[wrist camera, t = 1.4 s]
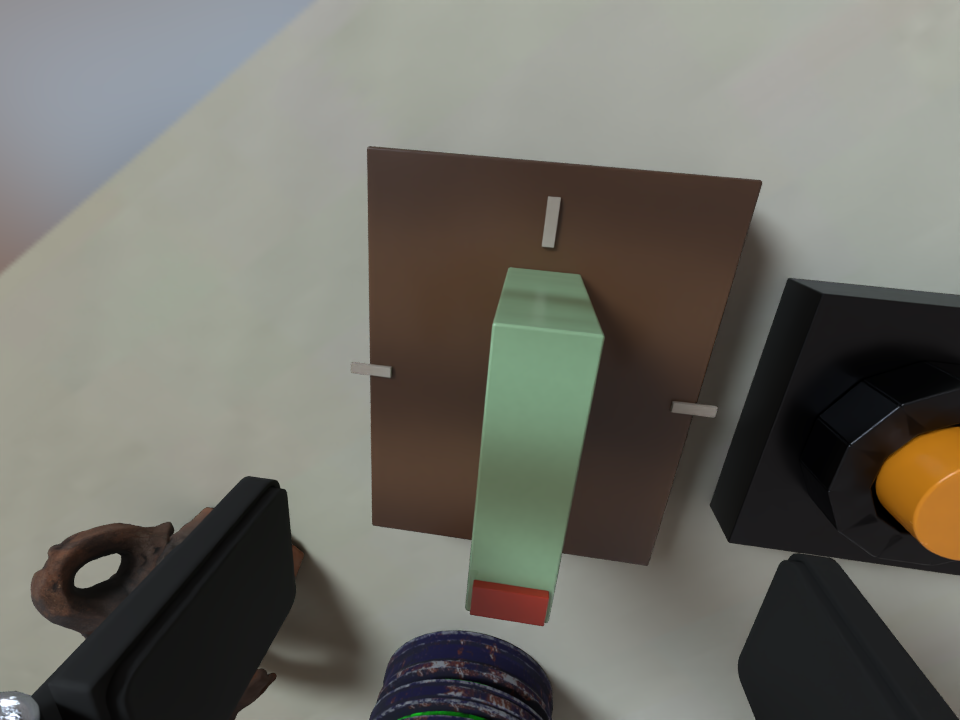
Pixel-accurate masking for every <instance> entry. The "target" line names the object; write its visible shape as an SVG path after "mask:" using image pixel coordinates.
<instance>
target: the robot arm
mask: <svg viewBox="0 0 960 720" xmlns="http://www.w3.org/2000/svg"><path fill="white" fill-rule="evenodd" d="M295 594H296V583H295V572H294V561H293V551H292V540H291V529H290V518H289V508H288V497H287V492H286V490H285V489H281V488H280V485H279V483H278V481H276V480H272V479H265V478H258V477H251V476H247V477H244V478H243V479H242V480H241V481H240V482H239V483H238V484H237V485H236V486H235V487H234V488H233V489H232V490H231V491H230V492H229V493H228V494H227V495H226V496H225V497H224V498H223V499H222V500H221V501H220V503H219V504H218V505H217V506H216V507H215V508H214V509H213V510H212V511H211V512H210V513H209V514H208V515H207V516H206V517H205V518H204V519H203V520H202V521H201V522H200V523H199V524H198V526H197V527H196V528H195V529H194V530H193V531H192V532H191V533H190V534H189V535H188V536H187V537H186V538H185V539H184V540H183V541H182V542H181V543H180V544H179V545H177V546H176V547H175V548H174V549H173V550H171V551H170V552H169V553H168V555H167V556H166V557H165V558H164V559H163V560H162V561H161V562H160V563H159V564H158V565H157V566H156V567H155V568H154V569H153V570H152V571H151V572H150V573H149V574H148V575H147V576H146V577H145V578H144V579H143V580H142V582H141V583H140V584H139V585H138V586H137V587H136V588H135V589H134V590H133V591H132V592H131V593H130V594H129V595H128V596H127V597H126V598H125V599H124V600H123V601H122V602H121V603H120V604H119V605H118V606H117V608H116V609H115V610H114V611H113V612H112V613H111V614H110V615H109V616H108V617H107V618H106V619H105V620H104V621H103V622H102V623H101V624H100V625H99V626H98V627H97V628H96V629H95V630H94V631H93V632H92V633H91V635H90V636H89V637H88V638H87V639H86V640H85V641H84V642H83V643H82V644H81V645H80V646H79V647H78V648H77V649H76V650H75V651H74V652H73V653H72V654H71V655H70V656H69V657H68V658H67V659H66V661H65V662H64V663H63V664H62V665H61V666H60V667H59V668H58V669H57V670H56V671H55V672H54V673H53V674H52V675H51V676H50V677H49V678H48V679H47V680H46V681H45V682H44V683H43V684H42V685H41V686H40V688H39V689H38V690H37V691H36V692H35V693H34V694H33V695H32V696H30V695H27V694H24V693H21V692H17V691H10V692H0V720H229V719H230V717H231V715H232V713H233V711H234V710H235V708H236V706H237V704H238V702H239V701H240V699H241V697H242V695H243V694H244V692H245V690H246V688H247V686H248V685H249V683H250V681H251V679H252V677H253V676H254V674H255V672H256V670H257V668H258V667H259V665H260V663H261V661H262V660H263V658H264V656H265V654H266V652H267V651H268V649H269V647H270V645H271V643H272V642H273V640H274V638H275V636H276V635H277V633H278V631H279V629H280V627H281V626H282V624H283V622H284V620H285V618H286V617H287V615H288V613H289V611H290V609H291V607H292V605H293V602H294V599H295ZM738 674H739V678H740V681H741V684H742V687H743V689H744V692H745V694H746V697H747V699H748V702H749V704H750V707H751V709H752V712H753V714H754V716H755V719H756V720H959V719H958V718H957V716H956V715H955V714H954V712H953V711H952V710H951V708H950V707H949V706H948V705H947V703H946V702H945V701H944V699H943V698H942V697H941V696H940V694H939V693H938V692H937V690H936V689H935V688H934V687H933V685H932V684H931V683H930V681H929V680H928V679H927V678H926V676H925V675H924V674H923V672H922V671H921V670H920V668H919V667H918V666H917V665H916V663H915V662H914V661H913V659H912V658H911V657H910V656H909V654H908V653H907V652H906V650H905V649H904V648H903V647H902V645H901V644H900V643H899V641H898V640H897V639H896V637H895V636H894V635H893V634H892V632H891V631H890V630H889V628H888V627H887V626H886V625H885V623H884V622H883V621H882V619H881V618H880V617H879V616H878V614H877V613H876V612H875V610H874V609H873V608H872V606H871V605H870V604H869V603H868V601H867V600H866V599H865V597H864V596H863V595H862V594H861V592H860V591H859V590H858V588H857V587H856V586H855V585H854V583H853V582H852V581H851V579H850V578H849V577H848V575H847V574H846V573H845V572H844V570H843V569H842V568H841V566H840V565H839V564H838V563H837V562H836V561H835V560H833V559H831V558H827V557H820V556H813V555H806V554H799V553H797V554H793V555H791V556H790V558H789V559H788V560H783V561H782V562H781V563H780V564H779V566H778V568H777V571H776V573H775V575H774V578H773V580H772V582H771V585H770V587H769V589H768V592H767V594H766V596H765V599H764V601H763V603H762V606H761V608H760V610H759V613H758V615H757V617H756V619H755V622H754V624H753V626H752V629H751V631H750V633H749V636H748V638H747V640H746V643H745V645H744V647H743V650H742V652H741V654H740V657H739V660H738Z"/></svg>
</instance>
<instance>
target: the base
mask: <svg viewBox="0 0 960 720" xmlns="http://www.w3.org/2000/svg"><path fill="white" fill-rule="evenodd" d="M367 173H368V246H369V319H370V364H365V363H357V362H352V363H351V373H356V374H365V375H370V392H371V465H372V524H373V525H374V526H381V527H387V528H394V529H401V530H408V531H414V532H421V533H428V534H435V535H442V536H448V537H455V538H462V539H469V540H472V532H473V521H474V511H475V500H476V490H477V479H478V469H479V458H480V448H481V437H482V427H483V416H484V406H485V396H486V385H487V375H488V364H489V354H490V343H491V333H492V324H493V321H494V317H495V314H496V310H497V306H498V303H499V299H500V296H501V292H502V289H503V285H504V282H505V278H506V275H507V271H508V268H510V267H513V268H522V269H532V270H542V271H551V272H561V273H570V274H579V275H581V277H582V280H583V283H584V285H585V288H586V290H587V293H588V295H589V298H590V300H591V303H592V305H593V308H594V311H595V313H596V316H597V318H598V321H599V323H600V326H601V328H602V331H603V334H604V337H605V340H604V345H603V350H602V355H601V360H600V365H599V370H598V375H597V380H596V385H595V390H594V395H593V400H592V405H591V410H590V415H589V420H588V425H587V430H586V435H585V441H584V446H583V451H582V456H581V461H580V466H579V471H578V476H577V481H576V486H575V491H574V496H573V501H572V506H571V511H570V516H569V521H568V526H567V531H566V536H565V541H564V547H563V552H562V553H564V554H571V555H577V556H584V557H591V558H598V559H605V560H611V561H618V562H625V563H632V564H639V565H645V566H647V565H648V564H649V561H650V558H651V554H652V551H653V548H654V544H655V541H656V537H657V534H658V531H659V527H660V524H661V521H662V517H663V514H664V511H665V507H666V504H667V501H668V497H669V494H670V491H671V487H672V484H673V481H674V477H675V474H676V470H677V467H678V464H679V460H680V457H681V454H682V450H683V447H684V444H685V440H686V437H687V434H688V430H689V427H690V424H691V420H692V417H693V415H697V416H705V417H713V418H715V416H716V413H717V410H718V408H717V406H711V405H703V404H696V403H697V400H698V397H699V393H700V390H701V387H702V383H703V380H704V377H705V373H706V370H707V367H708V363H709V360H710V356H711V353H712V350H713V346H714V343H715V340H716V336H717V333H718V330H719V326H720V323H721V320H722V316H723V313H724V310H725V306H726V303H727V300H728V296H729V293H730V289H731V286H732V283H733V279H734V276H735V273H736V269H737V266H738V263H739V259H740V256H741V253H742V249H743V246H744V243H745V239H746V236H747V232H748V229H749V226H750V222H751V219H752V216H753V212H754V209H755V206H756V202H757V199H758V196H759V192H760V189H761V186H762V181H761V180H753V179H742V178H730V177H719V176H707V175H696V174H684V173H672V172H661V171H649V170H638V169H626V168H615V167H603V166H592V165H580V164H569V163H557V162H546V161H534V160H523V159H511V158H500V157H488V156H476V155H465V154H453V153H442V152H430V151H419V150H407V149H396V148H384V147H373V146H369V147H368V148H367Z"/></svg>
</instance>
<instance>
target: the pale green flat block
mask: <svg viewBox="0 0 960 720" xmlns="http://www.w3.org/2000/svg"><path fill="white" fill-rule="evenodd" d="M604 340H605V337H604V334H603V331H602V328H601V326H600V323H599V321H598V318H597V316H596V313H595V311H594V308H593V305H592V303H591V300H590V298H589V295H588V293H587V290H586V288H585V285H584V283H583V280H582V277H581V275H579V274H570V273H561V272H551V271H542V270H532V269H522V268H513V267H510V268H508V271H507V275H506V278H505V282H504V285H503V289H502V292H501V296H500V299H499V303H498V306H497V310H496V314H495V317H494V321H493V324H492V333H491V343H490V354H489V364H488V375H487V385H486V396H485V406H484V416H483V427H482V437H481V448H480V458H479V469H478V479H477V490H476V500H475V511H474V521H473V532H472V542H471V553H470V563H469V573H468V584H467V594H466V605H465V608H466V610H467V611H470V615H476V616H482V617H488V618H494V619H501V620H507V621H513V622H520V623H526V624H532V625H538V626H544V623H548V621H549V617H550V612H551V607H552V602H553V597H554V592H555V587H556V582H557V577H558V572H559V567H560V562H561V557H562V552H563V547H564V541H565V536H566V531H567V526H568V521H569V516H570V511H571V506H572V501H573V496H574V491H575V486H576V481H577V476H578V471H579V466H580V461H581V456H582V451H583V446H584V441H585V435H586V430H587V425H588V420H589V415H590V410H591V405H592V400H593V395H594V390H595V385H596V380H597V375H598V370H599V365H600V360H601V355H602V350H603V345H604Z"/></svg>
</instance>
